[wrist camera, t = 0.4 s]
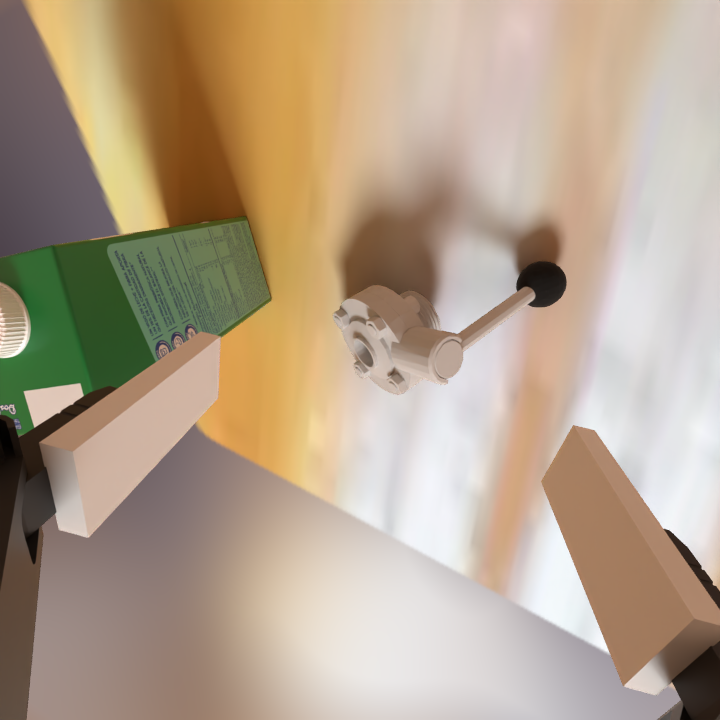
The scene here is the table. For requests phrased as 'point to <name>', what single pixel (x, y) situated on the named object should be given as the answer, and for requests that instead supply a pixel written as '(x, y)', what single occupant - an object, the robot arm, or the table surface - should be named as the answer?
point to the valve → (427, 329)
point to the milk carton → (116, 309)
